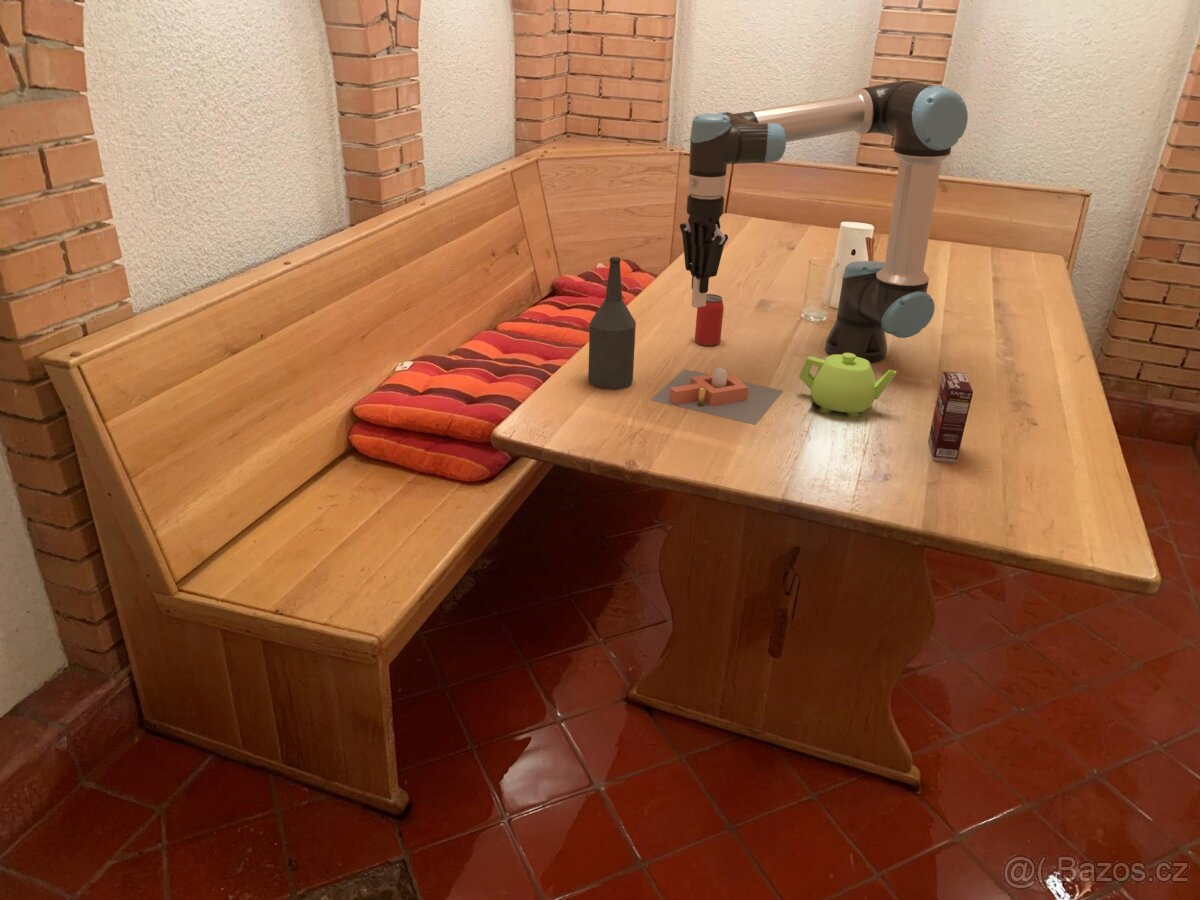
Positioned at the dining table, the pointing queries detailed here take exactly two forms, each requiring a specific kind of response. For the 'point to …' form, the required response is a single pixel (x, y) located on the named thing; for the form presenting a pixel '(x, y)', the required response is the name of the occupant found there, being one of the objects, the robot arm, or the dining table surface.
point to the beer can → (709, 321)
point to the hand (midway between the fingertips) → (698, 305)
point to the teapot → (844, 383)
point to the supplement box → (950, 417)
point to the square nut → (710, 391)
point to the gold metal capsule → (701, 396)
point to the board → (739, 411)
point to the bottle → (612, 338)
